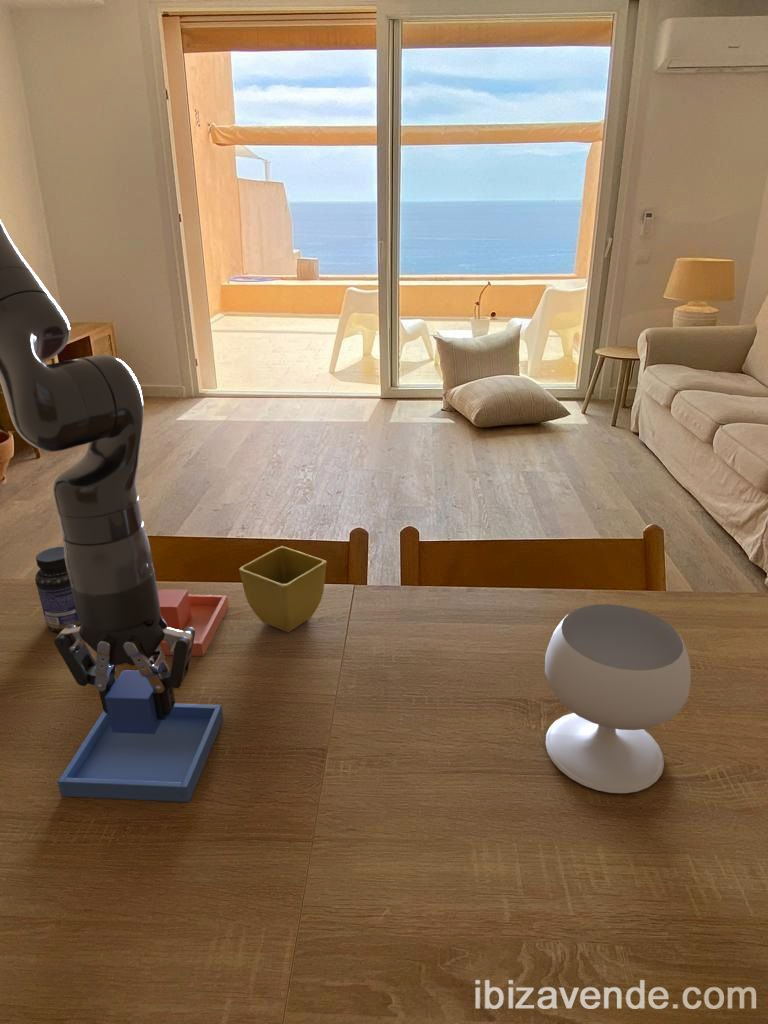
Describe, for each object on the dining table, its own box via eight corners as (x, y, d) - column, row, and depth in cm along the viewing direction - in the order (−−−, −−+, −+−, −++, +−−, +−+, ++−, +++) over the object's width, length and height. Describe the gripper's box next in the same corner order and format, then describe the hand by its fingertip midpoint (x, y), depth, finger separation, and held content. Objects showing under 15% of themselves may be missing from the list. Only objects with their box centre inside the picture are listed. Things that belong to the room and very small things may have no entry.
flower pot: (285, 597, 104) (281, 544, 101) (330, 615, 100) (327, 560, 96) (243, 624, 98) (237, 568, 94) (289, 644, 93) (284, 586, 90)
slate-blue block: (112, 732, 71) (104, 697, 69) (129, 703, 75) (122, 670, 73) (155, 734, 71) (148, 698, 69) (170, 705, 75) (164, 671, 73)
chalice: (525, 780, 71) (536, 659, 65) (548, 697, 83) (559, 588, 77) (671, 820, 66) (699, 694, 60) (673, 726, 78) (696, 612, 72)
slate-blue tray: (61, 796, 70) (57, 781, 69) (112, 714, 81) (109, 701, 80) (189, 802, 69) (186, 787, 68) (223, 718, 80) (221, 705, 79)
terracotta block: (149, 634, 95) (143, 606, 93) (160, 616, 99) (156, 589, 97) (181, 635, 95) (176, 607, 93) (191, 617, 99) (187, 590, 97)
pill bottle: (98, 625, 98) (83, 556, 94) (52, 639, 95) (34, 568, 91) (87, 606, 103) (72, 539, 99) (43, 619, 100) (26, 551, 95)
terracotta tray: (106, 653, 92) (103, 640, 91) (141, 604, 103) (139, 593, 102) (203, 656, 91) (201, 643, 90) (228, 606, 102) (227, 595, 102)
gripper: (198, 554, 69) (217, 693, 76) (58, 552, 70) (90, 689, 77) (172, 593, 62) (196, 741, 69) (18, 590, 63) (57, 737, 70)
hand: (140, 713), depth 73 cm, fingers closed on slate-blue block, 4 cm apart
